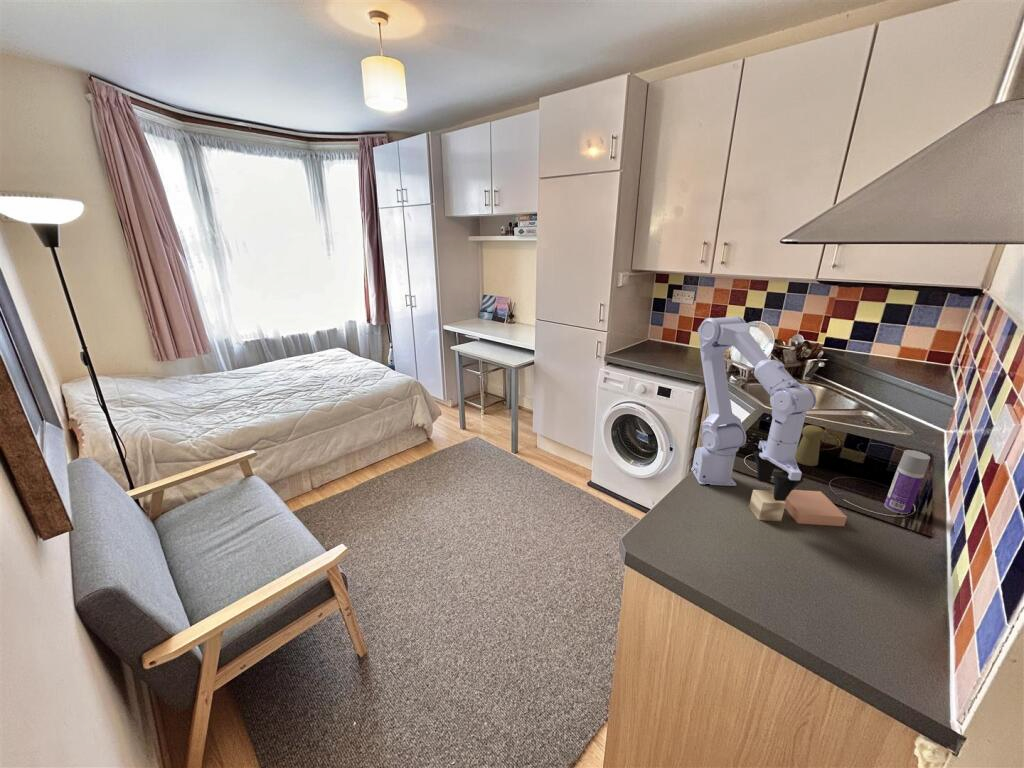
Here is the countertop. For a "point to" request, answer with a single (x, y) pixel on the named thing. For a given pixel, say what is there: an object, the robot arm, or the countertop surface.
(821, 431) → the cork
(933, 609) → the countertop surface
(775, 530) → the countertop surface
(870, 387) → the countertop surface
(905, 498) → the container
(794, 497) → the terracotta block
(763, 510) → the beech cube
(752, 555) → the countertop surface
